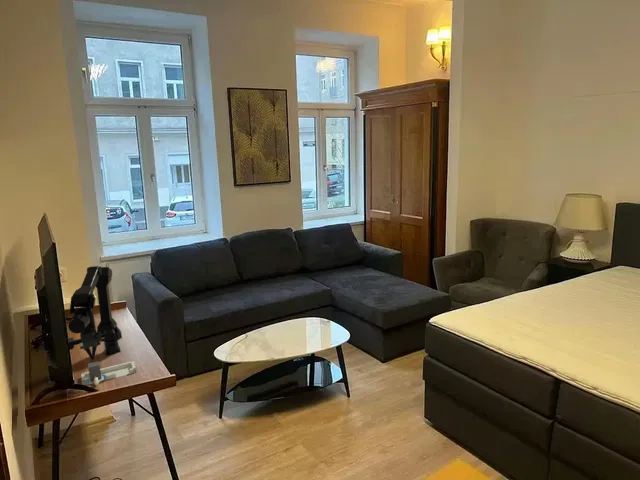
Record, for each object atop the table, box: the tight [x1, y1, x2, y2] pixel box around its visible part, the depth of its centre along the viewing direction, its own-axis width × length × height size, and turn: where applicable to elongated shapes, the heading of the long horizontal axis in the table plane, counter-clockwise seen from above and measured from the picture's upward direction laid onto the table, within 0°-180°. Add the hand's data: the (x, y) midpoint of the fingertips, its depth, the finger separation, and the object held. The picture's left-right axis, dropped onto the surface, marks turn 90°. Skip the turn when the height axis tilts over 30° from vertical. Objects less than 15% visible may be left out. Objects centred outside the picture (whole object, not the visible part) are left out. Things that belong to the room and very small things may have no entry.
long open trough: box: [80, 360, 137, 386], centre depth 188 cm, size 8×20×3 cm, turn 118°
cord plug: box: [87, 360, 102, 386], centre depth 183 cm, size 10×4×6 cm, turn 28°
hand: (92, 359), depth 184 cm, fingers closed
